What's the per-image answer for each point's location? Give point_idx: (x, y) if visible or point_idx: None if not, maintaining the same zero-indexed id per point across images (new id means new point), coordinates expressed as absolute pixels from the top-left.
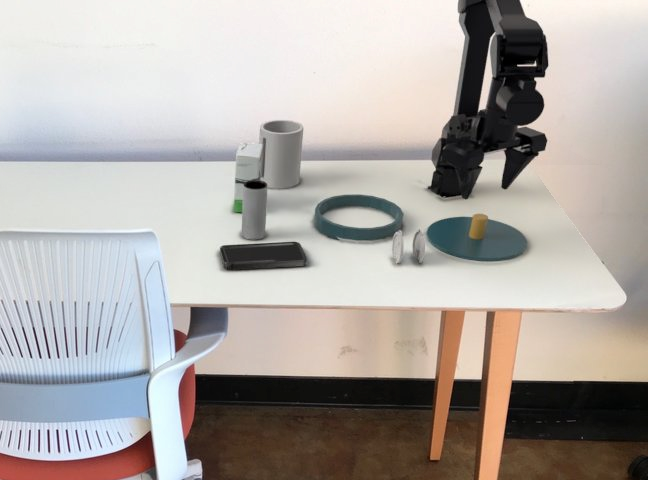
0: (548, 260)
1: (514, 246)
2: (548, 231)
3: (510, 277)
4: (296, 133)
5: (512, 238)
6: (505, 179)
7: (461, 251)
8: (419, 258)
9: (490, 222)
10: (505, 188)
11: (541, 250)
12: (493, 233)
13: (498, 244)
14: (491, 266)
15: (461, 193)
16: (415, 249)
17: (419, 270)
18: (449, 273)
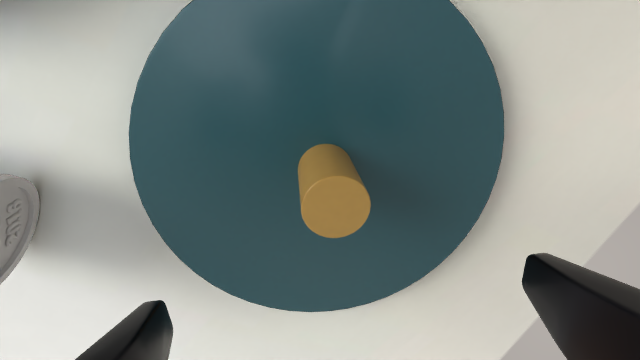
0: (429, 317)
1: (386, 270)
2: (593, 182)
3: (272, 355)
4: None
5: (425, 226)
6: (580, 323)
7: (199, 246)
8: (15, 245)
9: (465, 86)
10: (525, 291)
11: (462, 271)
12: (400, 172)
13: (351, 246)
14: None
15: (119, 327)
16: (11, 197)
17: (23, 261)
18: (117, 300)
